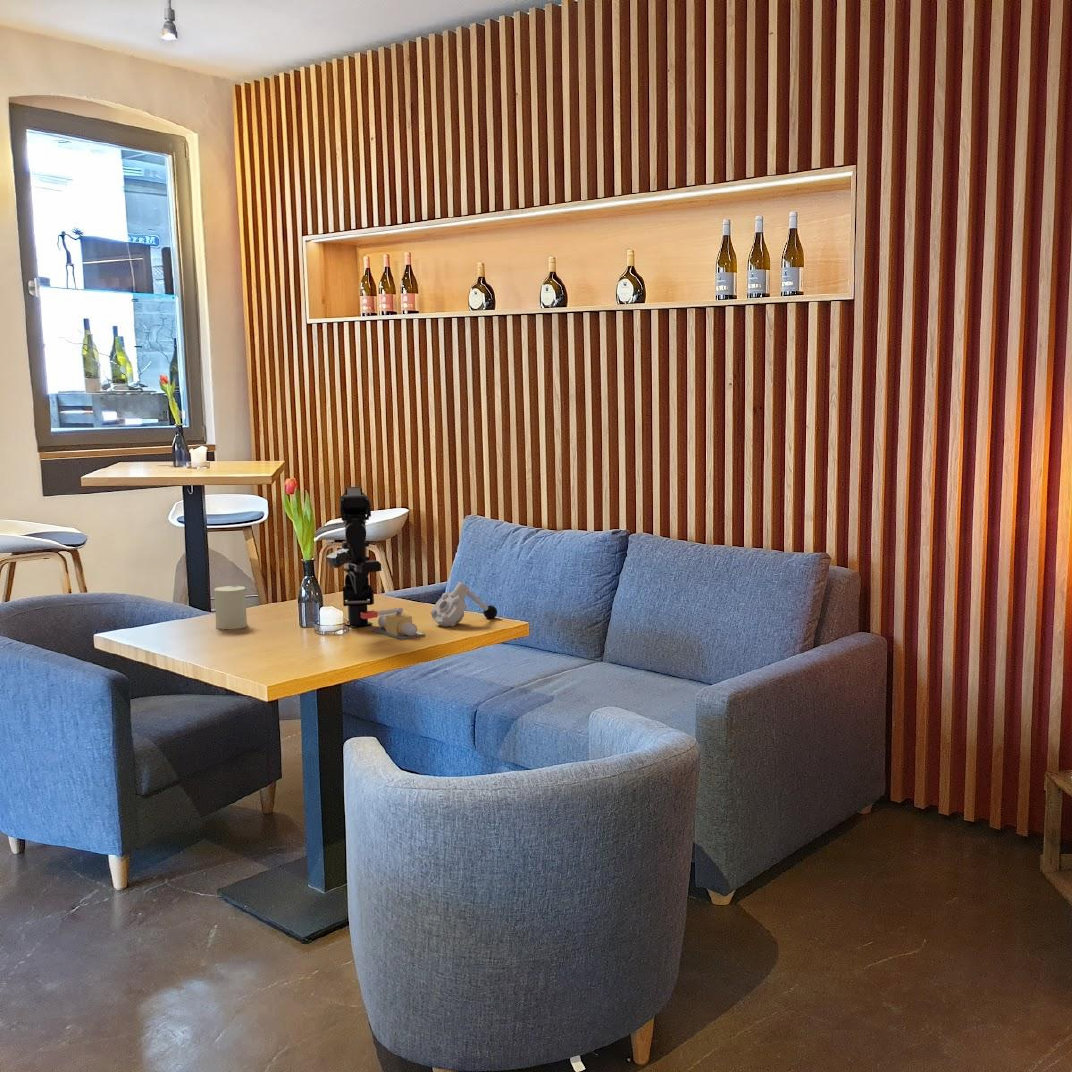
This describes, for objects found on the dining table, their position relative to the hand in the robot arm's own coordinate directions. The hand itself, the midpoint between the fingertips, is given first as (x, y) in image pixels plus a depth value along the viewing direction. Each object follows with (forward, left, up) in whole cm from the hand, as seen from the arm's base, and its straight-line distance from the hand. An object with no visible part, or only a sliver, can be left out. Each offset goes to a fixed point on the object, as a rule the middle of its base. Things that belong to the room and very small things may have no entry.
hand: (357, 593), depth 321 cm
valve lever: (+7, +4, -6) cm, 10 cm away
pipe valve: (+7, +9, -12) cm, 17 cm away
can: (-35, -24, -12) cm, 44 cm away
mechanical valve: (+5, +34, -12) cm, 36 cm away
